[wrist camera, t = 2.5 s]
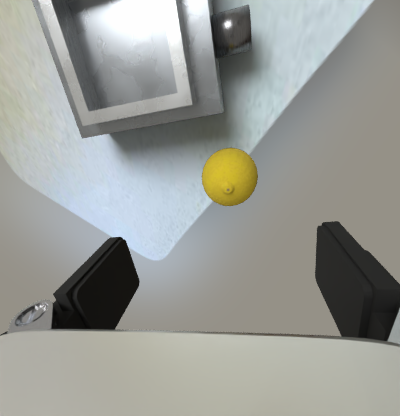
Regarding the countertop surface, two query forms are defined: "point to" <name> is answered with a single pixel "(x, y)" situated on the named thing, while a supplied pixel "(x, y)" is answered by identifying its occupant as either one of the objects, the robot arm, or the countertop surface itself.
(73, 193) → the countertop surface
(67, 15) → the housing
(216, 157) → the lemon
